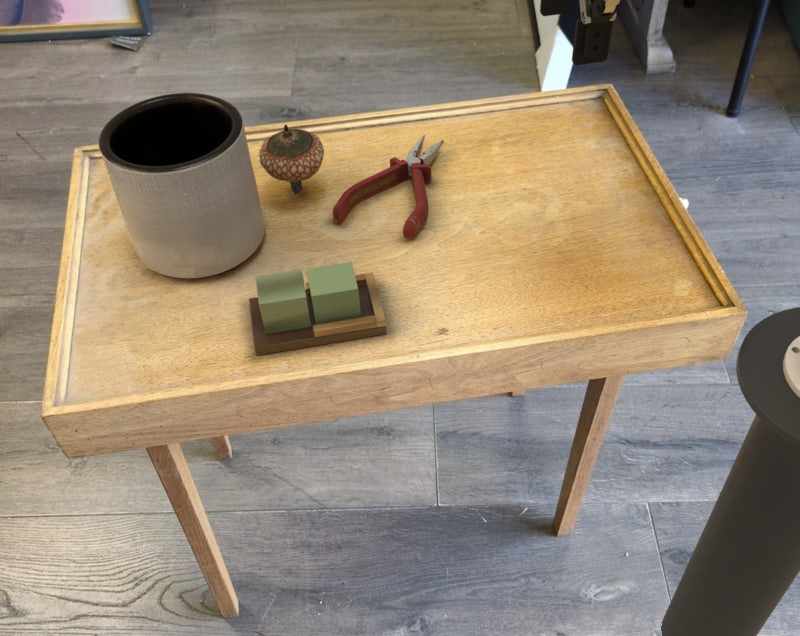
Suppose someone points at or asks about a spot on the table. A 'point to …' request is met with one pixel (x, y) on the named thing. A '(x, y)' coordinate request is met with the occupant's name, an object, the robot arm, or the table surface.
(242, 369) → the table surface
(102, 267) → the table surface
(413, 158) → the pliers
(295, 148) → the acorn
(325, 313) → the block
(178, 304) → the table surface
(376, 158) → the table surface
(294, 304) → the brown wooden rectangular tray
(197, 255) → the planter
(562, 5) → the robot arm
